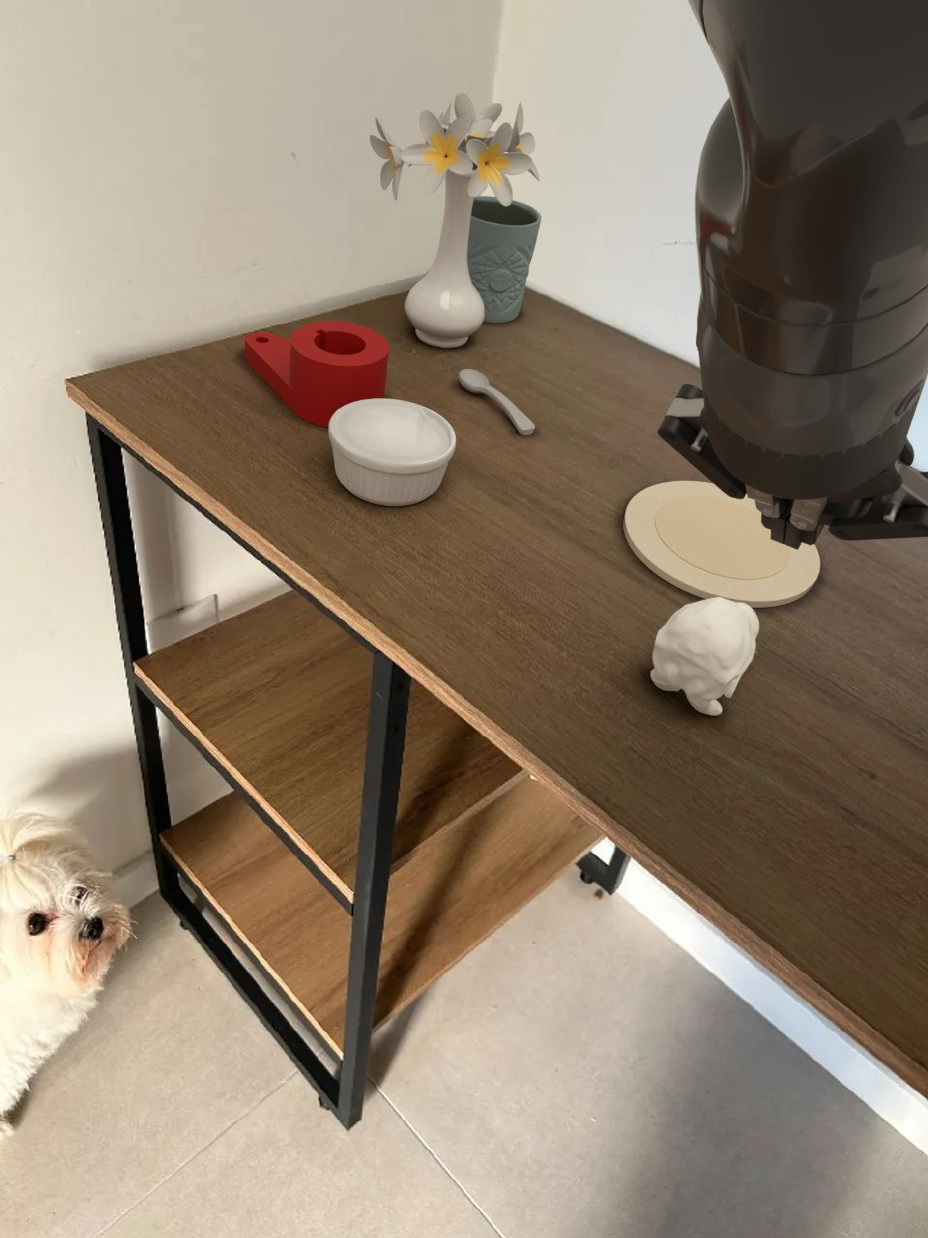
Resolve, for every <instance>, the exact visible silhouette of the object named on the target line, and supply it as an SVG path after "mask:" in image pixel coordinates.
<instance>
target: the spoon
mask: <svg viewBox="0 0 928 1238" xmlns="http://www.w3.org/2000/svg"><path fill="white" fill-rule="evenodd" d="M458 381H459V383H460V385H461V386H462V388H463V389H465V390H466V391H467V392H468V393H472V394H477V395H480V394H485V395H488V397H490V398H491V399H492V400H493V401H495V402H496V404H498V406H499V407H500V408H501V409H502V410H503V411H504V412H505V414H506V415H507V417H508V418H509V419H510V421H511V422H512V424H513V426H514V427H515V429H516V430H517V432H518V433H519V434H520V435H522V436H528V435H529V436H530V435H532V434H533V433H534V431H535V430H536V429H535V428H536V425H535V423H534V422H533V421H532V420H531V419H530V418H528V417H527V416H526V415H525V414H524V413H523V412H522V411H521V410H520V409H519V408H518V407H517V406H516V404H514V403H513V402H512V401H511V400H510V399H509V398H508V397H506V396H505V395H504V394H503V393H501V392H500V391H499V390H497V388H494V387H493V386H492V385H490V380H489V379H488V377H486V376H485V374H483V373H481V372H480V371H478V370H475V369H472V368H464V369H462V370H460V371H459V373H458Z"/></svg>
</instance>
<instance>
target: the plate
mask: <svg viewBox="0 0 928 1238" xmlns="http://www.w3.org/2000/svg"><path fill="white" fill-rule="evenodd" d="M622 528H623V529H622V530H623V534H624V537H625V539H626V542H627V544H628V546H629V547H630V549H631V551H632V552H633V553H634V555H635V556H636V558H637V559H639V560H640V562H641V563H643V565H645V566H646V567H647V568H648V570H650V571H652V572H653V573H654V574H655V575H656V576H658V577H659V578H661V579H662V580H664V581H665V582H667V583H669V584H670V585H672V586H674V587H676V588H678V589H680V590H682V591H683V592H686V593H688V594H691V595H693V596H696V597H698V598H701V599H703V600H706V599H710V598H714V597H722V598H724V599H727V600H730V601H733V602H735V603H737V602H742V603H745V604H747V605H749V606H750V607H751V608H752V609H754V608H755V609H763V608H775V607H779V606H784V605H787V604H790V603H794V602H796V601H797V600H799V599H802V597H805V595H806V594H807V593H809V592H810V590H811V589H812V588H813V587H814V585H815V583H816V581H817V579H818V577H819V575H820V571H821V557H820V554H819V550H818V549H817V547H816V545H815V544H816V543H815V544H813V545H811V546H810V545H808V544H805V543H803V542H802V543H801V545H800V547H799V549H798V550H796V549H794V548H791V547H789V546H786V545H784V544H781V543H779V542H776V541H774V540H771V539H770V538H771V530H770V529H767V528H765V527H764V526H763V525H762V523H761V512H760V511H758V510H757V508H756V505H755V500H753V499H750V498H748V496H747V494H746V495H745V497H744V499H736V498H731V497H729V496H728V495H727V494H725V493H724V492H723V491H722V490H720V489H719V488H718V487H717V486H716V485H715V484H714V483H712V482H707V481H700V480H699V481H698V480H672V481H666V482H661V483H657V484H652V485H650V486H648V487H646V488H644V489H641V490H640V491H638V493H636V494H635V495H634V496H633V497H632V498H631V500H630V501H629V502H628V504H627V506H626V508H625V511H624V514H623V519H622Z"/></svg>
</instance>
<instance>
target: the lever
mask: <svg viewBox="0 0 928 1238" xmlns="http://www.w3.org/2000/svg"><path fill="white" fill-rule="evenodd" d="M389 347H390V346H389V343H388V341H387V340H386V338H385V337H384V336H383V335H382V334H380V333H379V332H377V331H376V330H374V329H371V328H369V327H367V326H364V325H360V324H358V323H353V322H347V321H341V320H340V321H338V320H323V321H313V322H310V323H306V324H303V325H302V326H299V327H298V328H296V329H295V330H293V332H292V333H291V335H290V339H287V338H285V337H282V336H279V335H276V334H275V333H271V332H268V331H267V332H266V331H253V332H250V333H248V334H246V335H245V337H244V359H245V362H246V363H247V364H248V365H249V366H250V367H251V368H252V370H254V371H255V373H257V375H259V377H260V378H261V379H262V380H263V381H264V382H265V383H266V384H267V385H268V386H269V387H270V388H271V390H272V391H273V392H275V394H277V396H278V397H279V398H280V399H281V400H282V401H283V402H284V403H285V405H287V406H288V408H289V409H290V410H291V411H292V412H293V413H294V414H295V415H296V416H297V417H299V418H300V419H302V420H304V421H306V422H308V423H310V424H313V425H315V426H319V427H324V428H328V429H329V422H330V419H331V417H332V415H333V414H334V413H335V412H336V411H337V410H338V409H340V408H341V407H343V406H345V405H347V404H350V403H353V402H356V401H360V400H366V399H378V398H382V399H385V394H386V382H387V373H388V363H389V350H390V348H389Z"/></svg>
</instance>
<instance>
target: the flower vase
mask: <svg viewBox="0 0 928 1238" xmlns="http://www.w3.org/2000/svg"><path fill="white" fill-rule="evenodd" d="M453 102H454V103H453ZM452 104H453V105H454V106H453V108H454V113H455V116H454V115H451V109H452ZM502 112H503V105H502V104H501V103H500V102H494V103H491V104H488V105H486V106H485V107H483V109H481V110H480V111H479V112H478V115H477V114H476V109H475V105H474V103H473V101H472V99H471V97H470V96H469V95H467V94H466V93H465V92H460V93H457V94H456V96H455V97H454V101H453V100H452V99H451V100H450V102H449V104H448V106H447V108H446V110H445V113H444V112H441V113H440V114H439V115H438V117H437V116H436V114H435V113H434V112H433V111H431V110H429V109H424V110H422V111H421V113H420V114H419V129H420V132H421V135H422V137H423V139H424V142H418V143H413V144H410V145H407V146H406V147H405V148H404V149H402V148H401V147H400V146H399V145H398V144H397V142H396V141H395V140H394V139H393V138H392V137H391V135H390V134H389V133H388V131H387V130H386V128H385V126H384V125H383V124H382V123H381V121H380V119H379V118H378V117H375V118H374V119H375V127H376V130H377V132H378V134H379V136H380V137H378V136H377V135H374V134H370V135H369V143H370V146H371V148H372V150H373V151H374V153H375V154H376V155H377V156H378V157H379V158H380V159H382V160H387V161H385V162H384V163H383V164H382V166H381V169H380V174H379V179H380V181H379V182H380V187H381V189H382V190H383V191H386V190H387V189H388V187H389V186H390V184H391V186H392V187H391V189H392V195H393V198H394V200H395V201H397V200H398V194H399V188H400V182H401V177H402V173H403V168H404V165H405V164H406V165H408V166H407V168H410V167H411V166H416V167H417V166H427V167H426V169H425V173H424V178H423V183H424V189H425V190H426V192H427V193H431V194H433V193H435V192H436V191H438V189H439V188H440V186H441V185H442V183H443V181H444V190H445V191H444V206H443V207H444V209H443V214H442V215H443V217H442V222H441V230H440V235H439V236H440V237H439V242H438V246H437V251H436V254H435V259H434V260H433V262H432V264H431V267H430V268H429V270H428V271H427V273H426V275H425V276H424V277H422V278H421V279H420V280H419V281H417V282H416V283H415V284H414V285H413V286H412V287H411V288H410V289H409V291H408V293H407V295H406V298H405V301H404V305H403V306H404V307H403V308H404V312H405V315H406V318H407V319H408V321H409V323H410V324H411V325H412V326H413V327H414V328H415V329H414V330H415V335H416V337H417V338H418V339H419V341H421V342H423V343H424V344H427V345H429V346H432V347H436V348H442V349H451V348H452V349H454V348H459V347H461V346H463V345H465V344H466V343H467V342H468V340H469V336H471V335H473V334H475V333H476V332H477V331H478V330H479V329H480V327H481V326H482V325H483V324H484V323H485V322H484V318H485V306H484V302H483V300H482V298H481V296H480V294H479V292H478V291H477V289H476V288H475V287H474V285H473V284H472V282H471V278H470V275H469V270H468V264H467V250H468V238H469V228H470V219H471V212H472V206H473V202H474V198H475V197H478V196H482V194H483V193H485V192H486V190H487V189H488V187H490V189H491V190H492V193H493V195H494V197H496V198H497V200H498V201H499V202H500V203H501V204H502V205H503V206H509V205H510V204H511V203H512V200H514V191H513V186H512V184H511V181H510V180H509V179H510V178H509V177H508V176H515V175H516V176H517V175H521V174H525V173H526V172H528V173H529V174H531V175H532V176H533V177H534V178H535V179H536V180H537V181H538V182H540V179H541V178H540V175H539V172H538V170H537V167H536V164H535V163H534V161H533V159H532V157H531V156H530V155H529V154H532V153H533V152H534V151H535V149H536V140H535V137H534V135H533V134H532V132H530V131H525V132H523V133H522V131H523V129H524V121H525V120H524V119H525V118H524V110H523V105H522V102H518V107H517V110H516V116H515V119H514V124H513V127H512V125H511V124H510V123H511V122H507V121H505V122H503V123H501V124H500V125H499V126H498V127H497V129H496V130H493V131H492V130H491V129H492V127H493V126H494V123H495V122H496V121H497V120H498V118H499V117H500V115H502ZM506 175H507V176H506Z"/></svg>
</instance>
